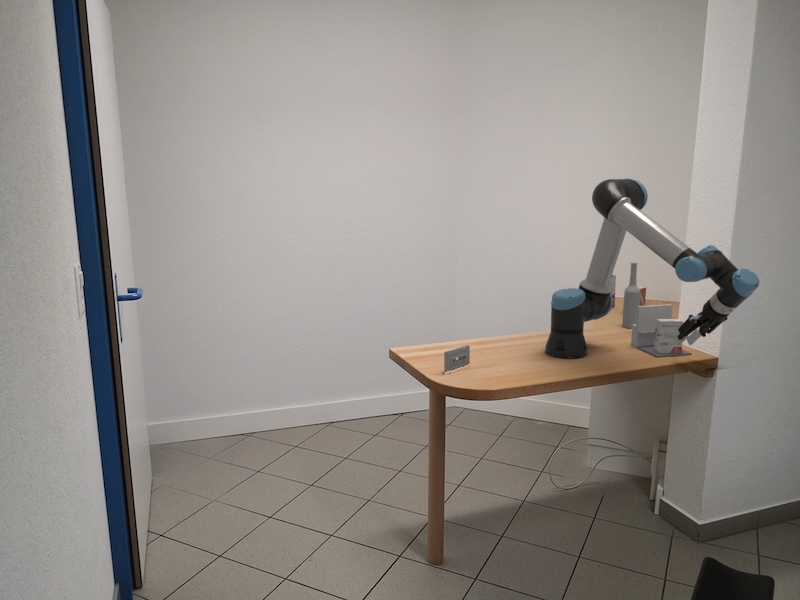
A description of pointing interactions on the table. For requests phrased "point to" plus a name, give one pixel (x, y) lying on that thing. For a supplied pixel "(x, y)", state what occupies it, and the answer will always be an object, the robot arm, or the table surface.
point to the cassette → (451, 356)
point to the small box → (642, 295)
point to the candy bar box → (613, 288)
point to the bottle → (631, 300)
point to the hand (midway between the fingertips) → (682, 342)
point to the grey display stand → (650, 328)
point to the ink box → (667, 335)
